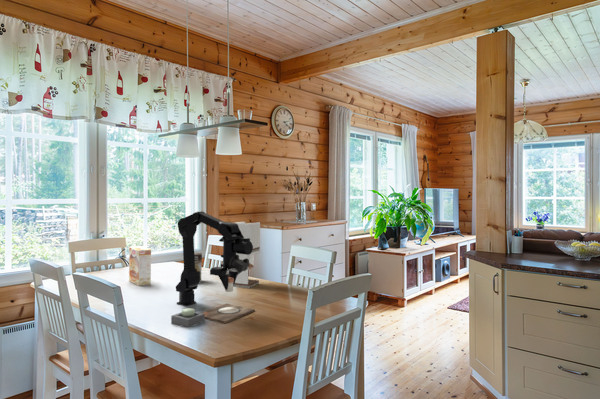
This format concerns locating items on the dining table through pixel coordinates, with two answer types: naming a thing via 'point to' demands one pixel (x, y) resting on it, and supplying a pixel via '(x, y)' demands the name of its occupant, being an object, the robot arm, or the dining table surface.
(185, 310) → the button
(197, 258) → the coffee box
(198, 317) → the button housing
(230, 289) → the mushroom
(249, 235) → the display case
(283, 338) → the dining table surface
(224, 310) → the colouring board
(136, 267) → the coffeecake box
